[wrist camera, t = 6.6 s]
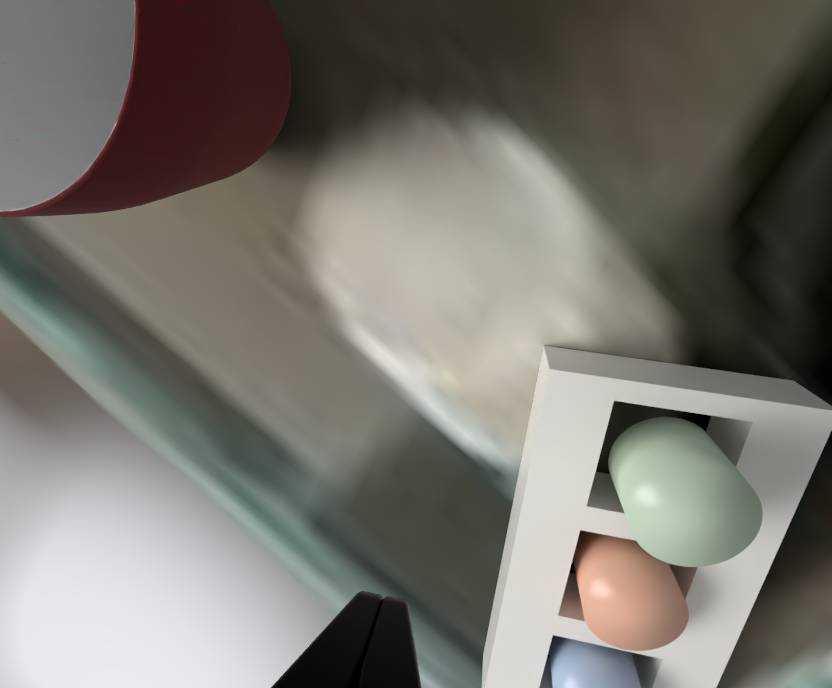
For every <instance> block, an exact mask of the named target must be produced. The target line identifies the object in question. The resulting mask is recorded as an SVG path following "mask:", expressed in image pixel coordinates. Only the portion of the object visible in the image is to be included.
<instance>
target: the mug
mask: <svg viewBox="0 0 832 688" xmlns="http://www.w3.org/2000/svg"><path fill="white" fill-rule="evenodd" d="M291 82H292V80H291V65H290V58H289V53H288V48H287V44H286V40H285V37H284V33H283V31H282V28H281V25H280V23H279V20H278V18H277V16H276V14H275V12H274V9H273V7H272V5H271V4H270V2H269V0H0V217H25V216H53V215H71V214H87V213H100V212H107V211H115V210H120V209H126V208H131V207H135V206H140V205H143V204H147V203H150V202H153V201H157V200H160V199H163V198H166V197H169V196H172V195H175V194H178V193H181V192H185V191H188V190H191V189H194V188H197V187H200V186H203V185H206V184H209V183H212V182H215V181H218V180H221V179H224V178H227V177H230V176H232V175H234V174H236V173H239V172H241V171H242V170H244V169H246V168H247V167H249V166H250V165H252V164H253V163H254V162H256V161H257V160H258V159H259V158H260V157H261V156H262V155H263V154H264V153H265V152H266V151H267V150H268V149H269V147H270V146H271V145H272V144H273V142H274V141H275V139H276V138H277V136H278V134H279V132H280V130H281V128H282V126H283V124H284V121H285V118H286V115H287V112H288V108H289V104H290V97H291Z"/></svg>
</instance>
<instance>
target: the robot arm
mask: <svg viewBox="0 0 832 688" xmlns="http://www.w3.org/2000/svg"><path fill="white" fill-rule="evenodd" d="M271 688H421V682H420V676H419V669H418V663H417V657H416V650H415V644H414V638H413V631H412V625H411V619H410V612H409V606H408V603H407V601H406V600H403V599H398V598H394V597H389V596H387V597H385V598H384V599H383V597H382V596H381V595H379V594H374V593H370V592H365V591H361V592H359V593H357V594H356V595H355V596H354V598H353V599H352V600H351V601H350V602H349V603H348V604H347V605H346V606H345V607H344V609H343V610H342V611H341V612H340V613H339V614H338V615H337V616H336V617H335V619H333V621H332V622H331V623H330V624H329V625H328V626H327V627H326V628H325V629H324V630H323V631H322V633H321V634H320V635H319V636H318V637H317V638H316V639H315V640H314V641H313V643H312V644H311V645H310V646H309V647H308V648H307V649H306V650H305V651H304V652H303V653H302V655H301V656H300V657H299V658H298V659H297V660H296V661H295V662H294V663H293V664H292V665H291V666H290V668H289V669H288V670H287V671H286V672H285V673H284V674H283V675H282V676H281V677H280V678H279V680H278V681H277V682H276V683H275V684H274V685H273V686H272V687H271Z"/></svg>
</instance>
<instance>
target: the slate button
mask: <svg viewBox="0 0 832 688" xmlns="http://www.w3.org/2000/svg"><path fill="white" fill-rule="evenodd" d="M549 655H550V665H551V675H552V685H553V688H641V684H640V681H639V677H638V674H637V670H636V666H635V663H634V659H633V655H632V652H628V651H623V650H619V649H614V648H610V647H605V646H600V645H596V644H591V643H587V642H582V641H578V640H573V639H569V638H564V637H560V636H555V635H553V637H552V640H551V644H550V648H549Z"/></svg>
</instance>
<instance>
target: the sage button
mask: <svg viewBox="0 0 832 688" xmlns="http://www.w3.org/2000/svg"><path fill="white" fill-rule="evenodd" d="M608 466H609V472H610V475H611V478H612V481H613V483H614V486H615V489H616V491H617V494H618V497H619V499H620V502H621V505H622V507H623V510H624V513H625V515H626V518H627V521H628V524H629V526H630V529H631V532H632V534H633V536H634V538H635V540H636V541H637V542H638V544H639V545H640V546H641V547H642V548H643V549H644V550H645V551H646V552H647V553H649V554H650V555H652V556H653V557H655V558H657V559H659V560H661V561H664V562H666V563H669V564H673V565H677V566H684V567H703V566H710V565H714V564H718V563H721V562H724V561H727V560H729V559H731V558H733V557H735V556H736V555H738V554H739V553H741V552H742V551H743V550H745V549H746V548H747V547H748V546H749V545H750V544H751V543H752V542H753V540H754V539H755V538H756V536H757V534H758V532H759V530H760V527H761V524H762V518H763V511H762V505H761V502H760V499H759V497H758V495H757V494H756V492H755V490H754V489H753V488H752V487H751V486H750V484H749V483H748V482H747V481H746V479H745V478H744V477H743V476H742V475H741V473H740V472H739V471H738V470H737V469H736V467H735V466H734V465H733V464H732V463H731V461H730V460H729V459H728V458H727V456H726V455H725V454H724V453H723V452H722V450H721V449H720V448H719V447H718V446H717V444H716V443H715V442H714V441H713V439H712V438H711V437H710V436H709V435H708V434H707V432H706V431H704V430H703V429H702V428H701V427H699V426H698V425H696V424H694V423H692V422H690V421H687V420H684V419H680V418H675V417H656V418H651V419H647V420H644V421H641V422H638V423H636V424H634V425H632V426H631V427H629V428H628V429H626V430H625V431H624V432H623V433H622V434H621V435H620V436H619V437H618V438H617V439H616V441H615V442H614V444H613V446H612V448H611V451H610V453H609V459H608Z"/></svg>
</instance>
